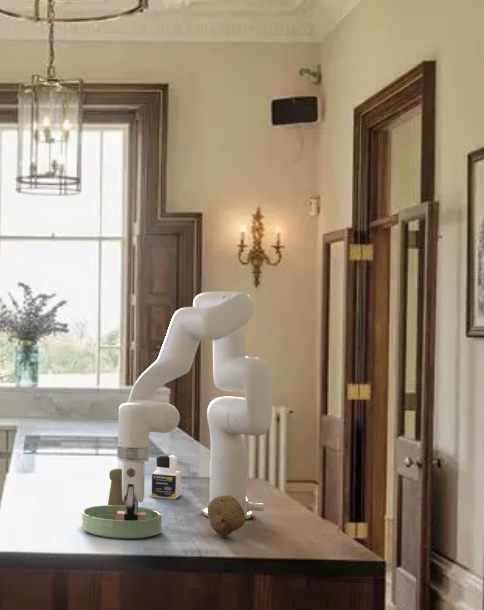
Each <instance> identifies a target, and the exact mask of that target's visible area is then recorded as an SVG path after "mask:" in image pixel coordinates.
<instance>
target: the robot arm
mask: <svg viewBox="0 0 484 610" xmlns="http://www.w3.org/2000/svg"><path fill="white" fill-rule="evenodd" d="M254 312H255V303H254V300H253V299H252V297H251V296H250V295H249V294H247V293H245V292H242V291H205V292H201V293H199V294H197V295H196V296H195V297H194V298H193V302H192V306H184V307H181V308H179V309H177V310H176V311H175V312H174V314H173V315H172V318H171V321H170V323H169V326H168V329H167V332H166V335H165V337H164V339H163V340H164V341H163V344H162V346H161V349H160V351H159V355H158V357H157V359H156V360H155V361H154V362H153V363H152V364H151V365H150V366H149V367H148V368H146V370H145V371H143V373H141V375H140V376H139V377H138V378H137V379H136V381H135V382H134V384H133V386H132V388H131V391H130V393H129V396H128V399H127V402H124V403H122V404H120V405H119V408H118V421H117V422H118V426H117V427H118V428H117V460H118V461H121V469H122V500H123V501H124V502H125V514H124V521H135V520H138V515H136V514H137V511H138V507H139V504H141V503H143V502H144V499H145V474H146V473H145V472H146V471H145V462H149V458H150V457H149V455H150V452H149V449H150V433H160V434H167V433H170V432H172V431H174V430H175V429H176V428H177V426H179V423H180V419H181V417H180V412H179V410H178V409H177V408H176V406H175V405H173V404H171V403H169V402H164V401H156V400H153V398H154V397H155V396H156V395H155V394H156V393H158V391H159V390H160V389H161V388H162V387H164V386H165V385H166V384H167V383H169V382H172V381H173V380H175V379H178V378H180V377H182V376H184V375H186V374H188V373H189V371H191V368H192V365H193V362H194V359H195V356H196V353H197V351H198V347H199V345H200V343H201V341H212V377H213V379H212V380H213V383H214V385H215V387H216V388H217V389H218V390H220V391H224V392H230V393H240V394H244V397H239V396H231V395H230V396H229V395H227V396H219V397H216V398H214V399H213V400H212V401H211V402H210V403H209V404H208V407H207V411H206V419H207V424H208V429H209V436H210V437H209V438H210V440H209V441H210V457H209V458H210V459H209V460H210V461H209V502H210V501H211V500H212V499H213V498H215V497H217V496H222V495H229V496H232V497H233V498H235V499H236V500H237V501H238V502H239V503H240V505H241V507H242V509H243V511H244V513H245V517H246V518H245V520H249V519H251V518H252V517H253V513H252V511H256V512H264V511H265V504H264V503H259V502H251V501H249V500H248V497H247V476H248V475H247V474H248V471H247V470H248V449H247V444H246V441H245V439H244V436H243V435H245V436H252V437H260V436H264V435H265V434H266V433H268V431H269V430H270V428H271V426H272V421H273V375H272V370H271V367H270V366H269V364H268V363H267V361H266V360H264V359H263V358H260V357H254V356H247V352H246V351H247V350H246V336H245V333H244V330H243V328H242V327H244V326H245V325H246V324H248V323H249V322H250V321H251V319H252V317H253V316H254ZM203 515H204V516H206V517H208V512H207V507H206V508H204V509H203Z"/></svg>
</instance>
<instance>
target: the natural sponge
mask: <svg viewBox="0 0 484 610" xmlns="http://www.w3.org/2000/svg"><path fill="white" fill-rule="evenodd" d="M206 508H207V512H208V516H207V517H208V520H209V525H210V527H211V529H212V530H213V531H214V532H215V533H216V534H217V535H218V536H219V537H222V538H223V537H228V536H230V535H232V533H234V532H235V531H237V530H239V529H241V528H242V527H244V525H245V524H246V519H245V518H246V517H245V513H244V511H243V509H242V507H241V505H240V503H239V502H238V501H237V500H236V499H235V498H233V497H232V496H229V495H222V496H217V497H215V498H213V499H212V500H211V501H210V500H209V502H208V504H207V507H206Z"/></svg>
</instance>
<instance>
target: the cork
mask: <svg viewBox="0 0 484 610" xmlns="http://www.w3.org/2000/svg"><path fill="white" fill-rule="evenodd" d="M108 474H109V476H108V477H109V480H110V487H109V493H108V501H107V505H123V506H125V502H124V501H123V500H122V468H112V469H111V470H110V471H109V473H108Z"/></svg>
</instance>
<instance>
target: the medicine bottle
mask: <svg viewBox="0 0 484 610" xmlns="http://www.w3.org/2000/svg"><path fill="white" fill-rule="evenodd" d="M155 463H156V465H155V466H156V470H155V471H153V472H152V473H151V497H152V498H157V499H158V498H159V499H170V500H176V499H177V498H179V497H180V496H181V495H182V471H181V470H178V457H177V456H176V455H174V454H159V455H157V456H156V462H155Z"/></svg>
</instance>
